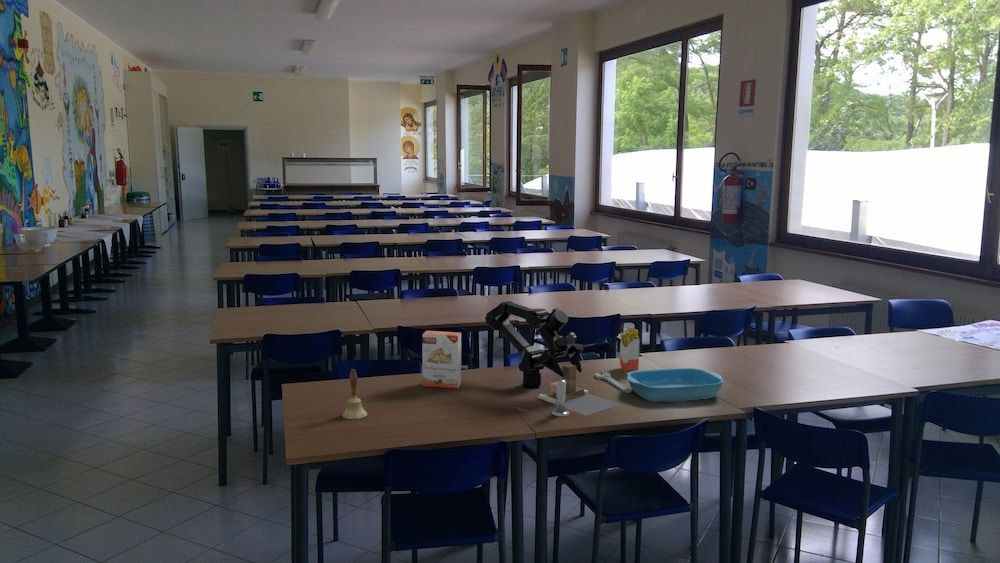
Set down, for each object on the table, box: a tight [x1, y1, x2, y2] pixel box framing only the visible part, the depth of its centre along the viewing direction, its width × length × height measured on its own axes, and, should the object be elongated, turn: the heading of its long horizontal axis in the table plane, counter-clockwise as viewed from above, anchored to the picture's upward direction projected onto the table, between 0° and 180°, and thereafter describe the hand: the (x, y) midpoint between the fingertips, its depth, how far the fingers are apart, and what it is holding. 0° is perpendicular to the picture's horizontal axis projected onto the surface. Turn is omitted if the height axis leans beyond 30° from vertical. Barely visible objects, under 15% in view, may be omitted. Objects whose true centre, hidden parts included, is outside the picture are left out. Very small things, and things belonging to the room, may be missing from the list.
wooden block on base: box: [553, 363, 585, 401], centre depth 263 cm, size 4×12×12 cm, turn 130°
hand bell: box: [342, 368, 368, 420], centre depth 244 cm, size 8×8×16 cm
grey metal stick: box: [551, 378, 570, 417], centre depth 246 cm, size 6×6×12 cm
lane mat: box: [535, 389, 622, 417], centre depth 260 cm, size 25×18×2 cm
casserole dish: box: [626, 367, 724, 403], centre depth 270 cm, size 37×22×7 cm, turn 105°
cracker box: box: [421, 330, 462, 390], centre depth 276 cm, size 14×6×21 cm, turn 80°
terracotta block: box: [549, 381, 557, 395], centre depth 267 cm, size 5×5×4 cm
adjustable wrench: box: [595, 371, 632, 394], centre depth 282 cm, size 25×6×2 cm, turn 14°
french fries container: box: [619, 326, 640, 374], centre depth 298 cm, size 5×11×18 cm, turn 10°
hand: (572, 374), depth 261 cm, fingers open, 9 cm apart
